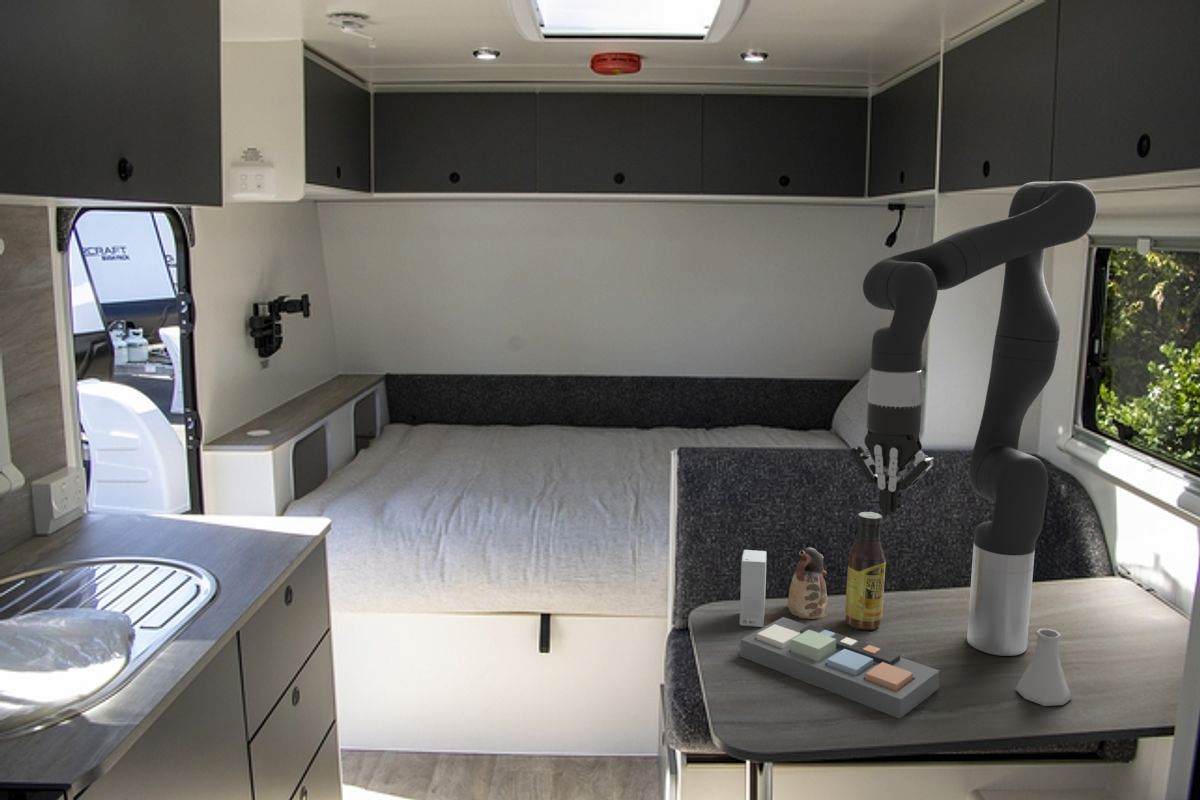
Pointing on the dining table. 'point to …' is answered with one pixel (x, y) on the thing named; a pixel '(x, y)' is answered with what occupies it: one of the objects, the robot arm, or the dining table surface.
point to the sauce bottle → (866, 575)
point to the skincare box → (753, 588)
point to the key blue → (850, 662)
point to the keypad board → (841, 681)
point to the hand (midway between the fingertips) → (889, 513)
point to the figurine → (808, 587)
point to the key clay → (889, 676)
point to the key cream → (777, 636)
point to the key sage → (813, 645)
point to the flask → (1045, 673)
